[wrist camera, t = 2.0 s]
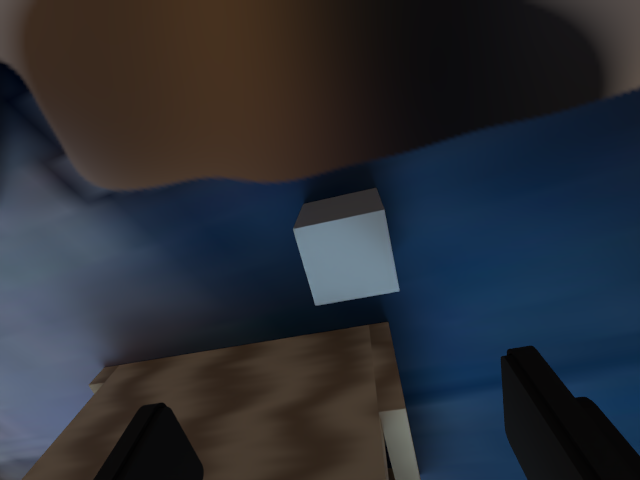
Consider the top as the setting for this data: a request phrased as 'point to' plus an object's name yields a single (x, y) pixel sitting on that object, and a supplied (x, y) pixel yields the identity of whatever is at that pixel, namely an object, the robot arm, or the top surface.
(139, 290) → the top surface
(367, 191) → the cube
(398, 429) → the frame
